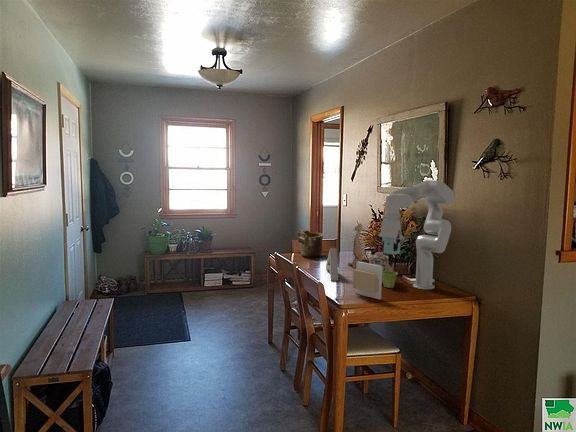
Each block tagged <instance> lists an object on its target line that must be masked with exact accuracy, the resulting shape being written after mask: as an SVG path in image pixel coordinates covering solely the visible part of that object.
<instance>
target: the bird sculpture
mask: <svg viewBox="0 0 576 432" xmlns="http://www.w3.org/2000/svg"><path fill="white" fill-rule="evenodd" d="M362 229H363V224H362V223H358V225H356V226H355V227H354V230H353V231H355V232H356V231H357V232H356V234H355V236H354V239H353V246H352V247H353V248H352V249H353V250H352V252H353V256H354V258H353V259H352V260H353V261H352V262H348V263H347V265H348V266H352V269H356V263H357V262H358V261H359V262H363V244H362V241H361V240H360V235H361V232H362Z"/></svg>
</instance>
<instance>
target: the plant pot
mask: <svg viewBox="0 0 576 432" xmlns="http://www.w3.org/2000/svg"><path fill="white" fill-rule="evenodd" d="M397 275H398V272H396V271H393V270H392V271H391V270H388V271H382V276H383V283H382V284H383V287H384V288H387V289H388V288H389V289H390V288H391V289H393V288H395V284H396V279H397Z"/></svg>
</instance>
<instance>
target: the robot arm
mask: <svg viewBox="0 0 576 432" xmlns="http://www.w3.org/2000/svg"><path fill="white" fill-rule="evenodd" d="M423 198H425V200H426V203H427V205H428V212H427V216H426V218H425V220H424V225H423V232H425V233H426V234H420V235H418V236H417V238H416V239H415V247H416V266H415V267H416V268H415V282H414V283H412V287H413V288H415V289H419V290H433V289H435V285H434V284H433V283H434V282H435V281H436V280H435V279H434V278H433V273H434V256H433V254H432V253H435V254H436V253H437V254H442V253H443V252H445V250H446V247H447V245H448V242H449V239H450V237H451V232H452V224H451V222H450V221H449V220H447V219H443V215H444V211H443V208H442V206H441V204H444V205H448V204H452V203H453V202H454V199H455V194H454V192H453V189H451V188H450V187H449V186H448V185H447V184H446V183H445V182H443V181H441V180H428V179H427V180H424V181H420V182H419V183H417V184H415V185H413V186H409V187H404V188H400V189H397V190H394V191H392V192H389V194H386V196H385V205H384V207H385V208H384V214H382V216H383V217H384V218H383V219H382V222H381V226H380V232H379V233H378V234H377V235H378V237H379V239H380V240H381V245H382V246H381V247H382V250H384V237H386V238H393V239H394V242H395V244H394V247H393V251H397V249H398V243H399V242H400V241H401V240H402V239H404V240H405V236H403V234H402V233H401V231H402V230H401V229H402V227H401V221H400V220H401V219H400V209H401V208H402V209H406V208H410V207H411V206H412V205H413V202H415V201H420V200H422V199H423ZM429 234H430V235H429ZM398 238H399V239H398Z"/></svg>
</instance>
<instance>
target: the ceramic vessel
mask: <svg viewBox="0 0 576 432" xmlns="http://www.w3.org/2000/svg"><path fill="white" fill-rule="evenodd" d="M296 234H297V235H296V236H297V244H299V245H300V249H299V250H300V254H301V256H303V257H309V258H317V257H320V256H321V255H322V252H323V238H324V235H323V233H322V232H311V231H309V230H304V229H301V230H298V231H297V233H296Z"/></svg>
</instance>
